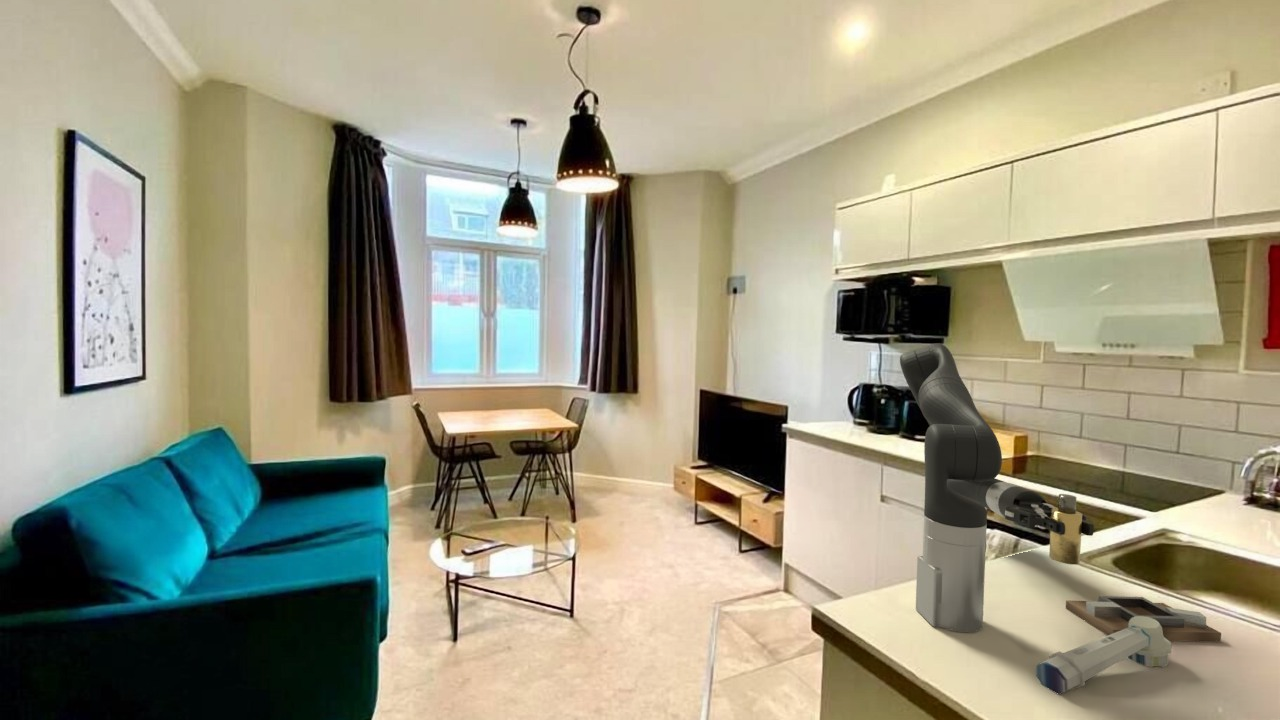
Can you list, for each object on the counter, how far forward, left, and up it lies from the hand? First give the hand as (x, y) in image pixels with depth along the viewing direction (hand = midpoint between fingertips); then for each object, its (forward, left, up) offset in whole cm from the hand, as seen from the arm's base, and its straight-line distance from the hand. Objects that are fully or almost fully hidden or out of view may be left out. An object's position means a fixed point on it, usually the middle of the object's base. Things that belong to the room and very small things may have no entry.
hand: (1076, 529), depth 99 cm
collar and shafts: (+6, -7, -12) cm, 15 cm away
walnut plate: (+6, -7, -14) cm, 16 cm away
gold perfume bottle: (0, +3, -7) cm, 7 cm away
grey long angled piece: (-11, -21, -14) cm, 28 cm away
